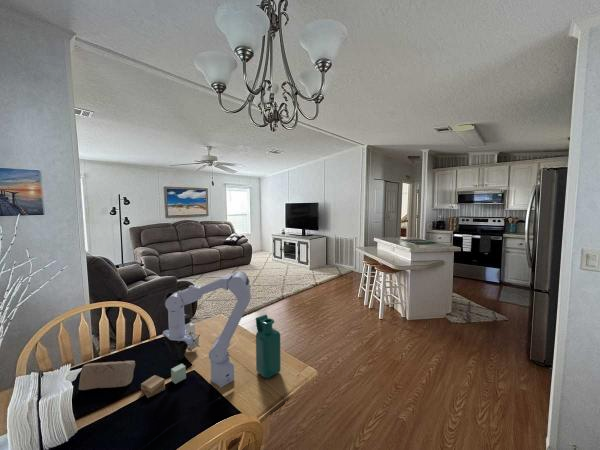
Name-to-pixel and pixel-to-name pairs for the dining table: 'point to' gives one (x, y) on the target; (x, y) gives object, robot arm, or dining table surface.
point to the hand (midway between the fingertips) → (178, 356)
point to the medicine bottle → (189, 324)
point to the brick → (106, 375)
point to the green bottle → (267, 347)
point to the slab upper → (152, 384)
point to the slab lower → (154, 391)
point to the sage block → (178, 373)
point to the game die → (193, 341)
